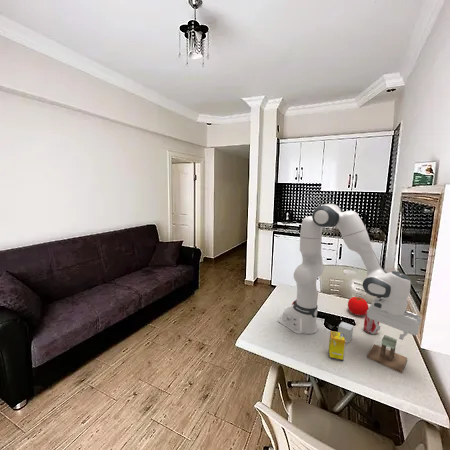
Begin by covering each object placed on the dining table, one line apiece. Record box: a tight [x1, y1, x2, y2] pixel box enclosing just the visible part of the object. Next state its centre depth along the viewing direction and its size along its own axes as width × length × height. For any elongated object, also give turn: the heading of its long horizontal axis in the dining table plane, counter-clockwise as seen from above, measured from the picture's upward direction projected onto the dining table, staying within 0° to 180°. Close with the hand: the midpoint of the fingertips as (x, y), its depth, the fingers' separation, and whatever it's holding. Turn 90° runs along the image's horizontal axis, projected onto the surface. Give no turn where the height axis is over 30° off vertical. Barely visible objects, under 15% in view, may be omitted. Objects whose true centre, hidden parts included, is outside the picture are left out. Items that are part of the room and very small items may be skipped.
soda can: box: [363, 310, 380, 335], centre depth 139 cm, size 7×7×12 cm
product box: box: [337, 321, 354, 344], centre depth 133 cm, size 6×6×7 cm
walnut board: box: [366, 343, 408, 374], centre depth 119 cm, size 14×12×1 cm
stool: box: [380, 334, 398, 362], centre depth 118 cm, size 5×5×9 cm
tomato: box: [347, 296, 370, 316], centre depth 159 cm, size 11×12×10 cm
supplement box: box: [327, 330, 346, 362], centre depth 119 cm, size 6×6×11 cm
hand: (389, 334), depth 117 cm, fingers open, 8 cm apart
